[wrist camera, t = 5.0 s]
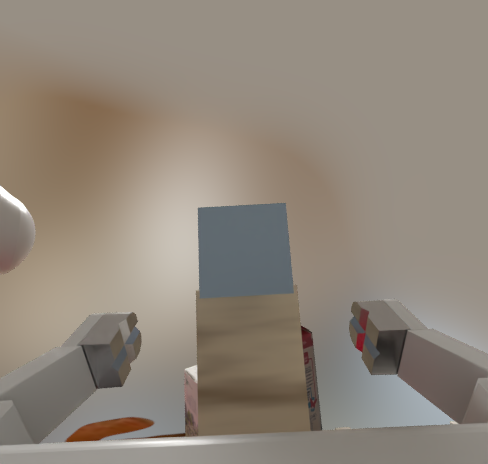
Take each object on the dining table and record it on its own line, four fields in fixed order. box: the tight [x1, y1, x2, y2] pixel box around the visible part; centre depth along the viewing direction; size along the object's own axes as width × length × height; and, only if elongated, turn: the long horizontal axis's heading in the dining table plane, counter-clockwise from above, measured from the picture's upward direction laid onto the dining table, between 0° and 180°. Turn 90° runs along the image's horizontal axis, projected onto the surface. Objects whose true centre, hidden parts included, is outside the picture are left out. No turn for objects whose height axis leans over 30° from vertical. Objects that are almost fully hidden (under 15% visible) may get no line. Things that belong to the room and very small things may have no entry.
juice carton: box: [301, 326, 322, 431], centre depth 33 cm, size 7×7×22 cm
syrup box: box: [185, 365, 198, 437], centre depth 33 cm, size 6×6×14 cm
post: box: [196, 285, 311, 436], centre depth 20 cm, size 8×8×26 cm
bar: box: [198, 203, 294, 298], centre depth 21 cm, size 22×4×4 cm, turn 179°
